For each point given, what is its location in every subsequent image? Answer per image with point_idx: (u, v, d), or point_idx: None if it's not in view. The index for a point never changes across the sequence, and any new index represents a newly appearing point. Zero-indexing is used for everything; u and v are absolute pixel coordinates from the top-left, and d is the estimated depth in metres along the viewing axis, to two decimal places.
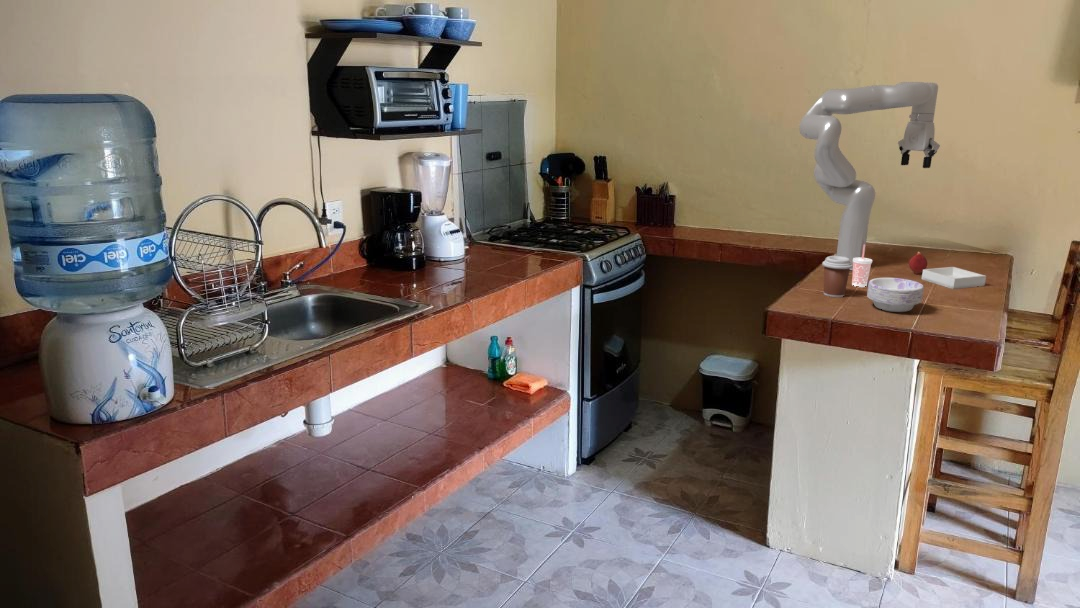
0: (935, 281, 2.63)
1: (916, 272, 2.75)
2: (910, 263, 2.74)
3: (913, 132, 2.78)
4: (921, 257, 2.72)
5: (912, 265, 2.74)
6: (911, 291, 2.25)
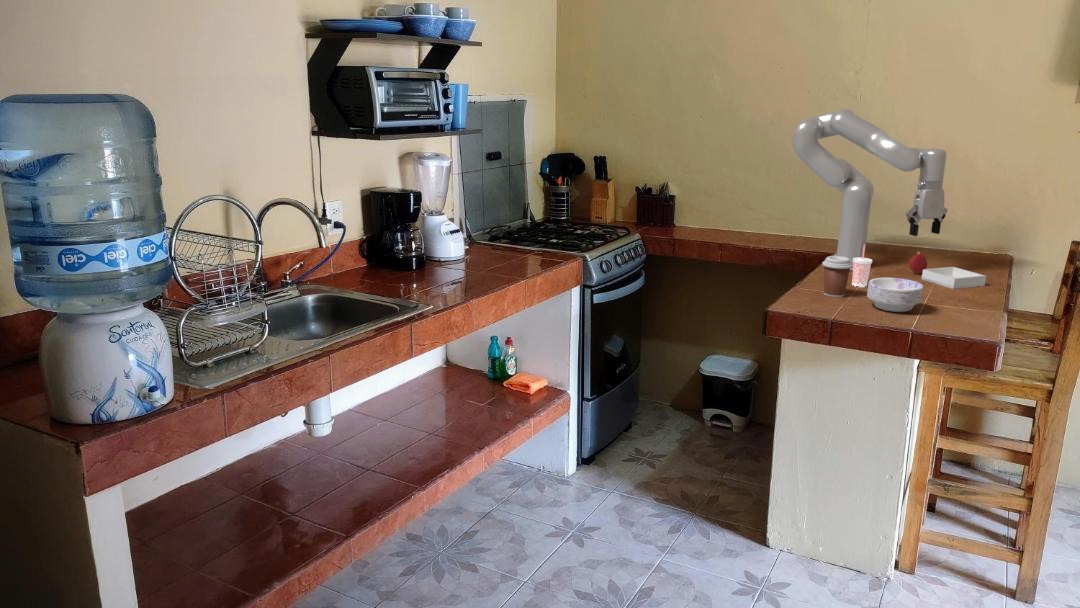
0: (935, 281, 2.63)
1: (916, 272, 2.75)
2: (910, 263, 2.74)
3: (934, 200, 2.66)
4: (921, 257, 2.72)
5: (912, 265, 2.74)
6: (911, 291, 2.25)
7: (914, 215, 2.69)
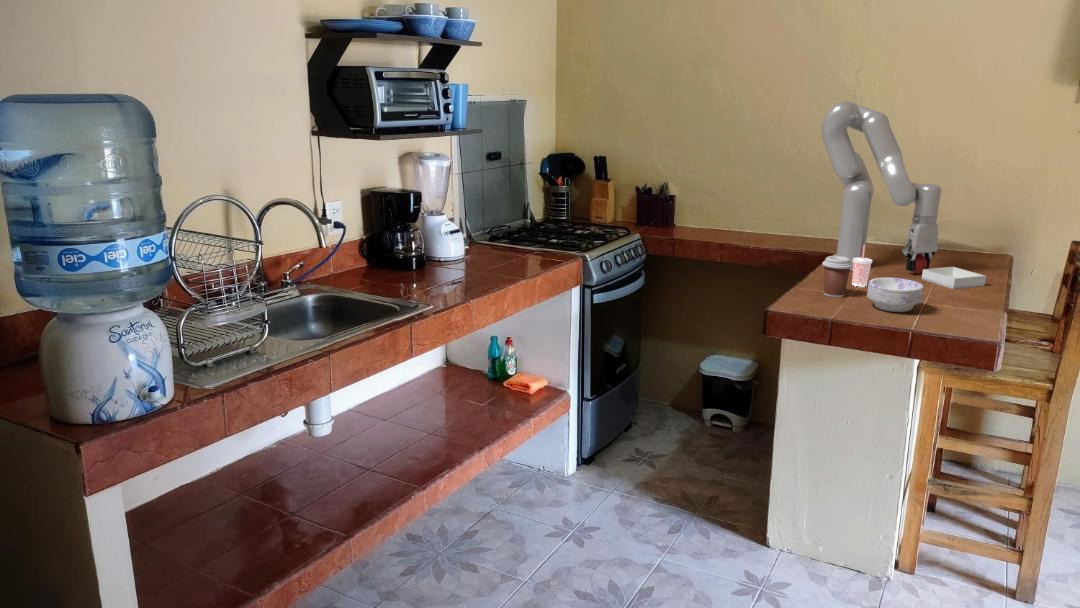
0: (935, 281, 2.63)
1: (916, 272, 2.75)
2: None
3: (928, 235, 2.69)
4: (921, 257, 2.72)
5: None
6: (911, 291, 2.25)
7: None
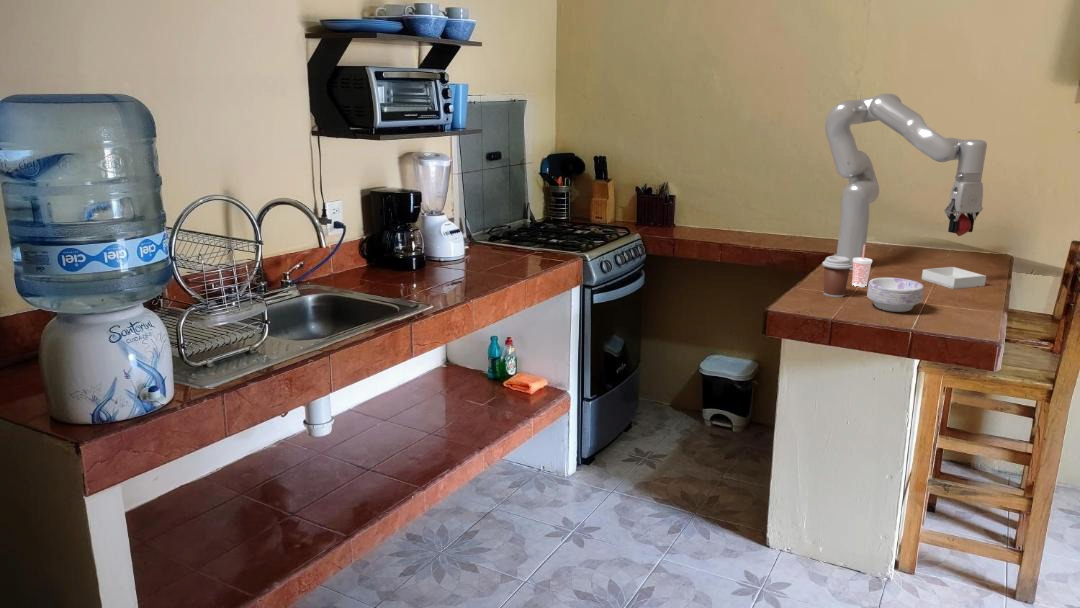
0: (935, 281, 2.63)
1: (959, 234, 2.59)
2: None
3: (972, 194, 2.53)
4: (965, 218, 2.57)
5: None
6: (911, 291, 2.25)
7: None
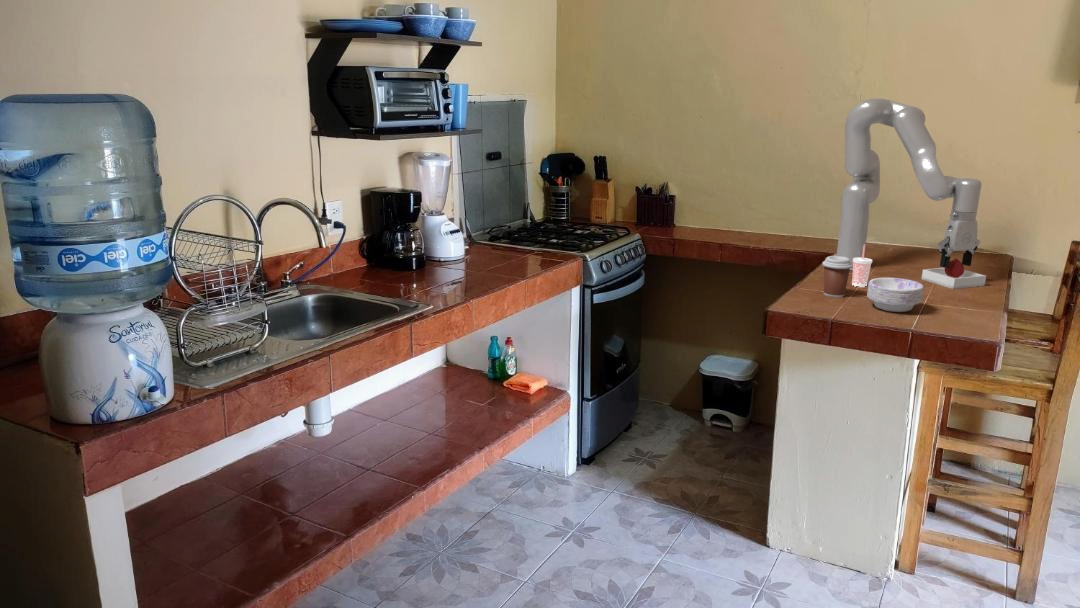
0: (935, 281, 2.63)
1: None
2: (946, 269, 2.63)
3: (967, 232, 2.57)
4: (958, 263, 2.60)
5: (948, 271, 2.62)
6: (911, 291, 2.25)
7: (945, 246, 2.60)
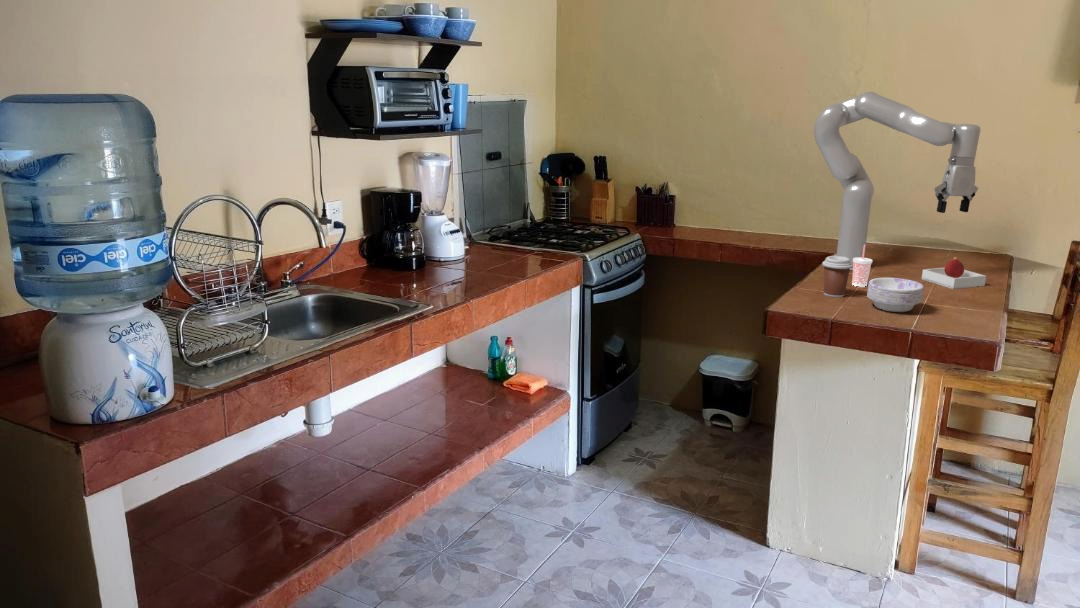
0: (935, 281, 2.63)
1: None
2: (946, 269, 2.63)
3: (964, 177, 2.60)
4: (958, 263, 2.61)
5: (948, 271, 2.62)
6: (911, 291, 2.25)
7: (943, 191, 2.63)
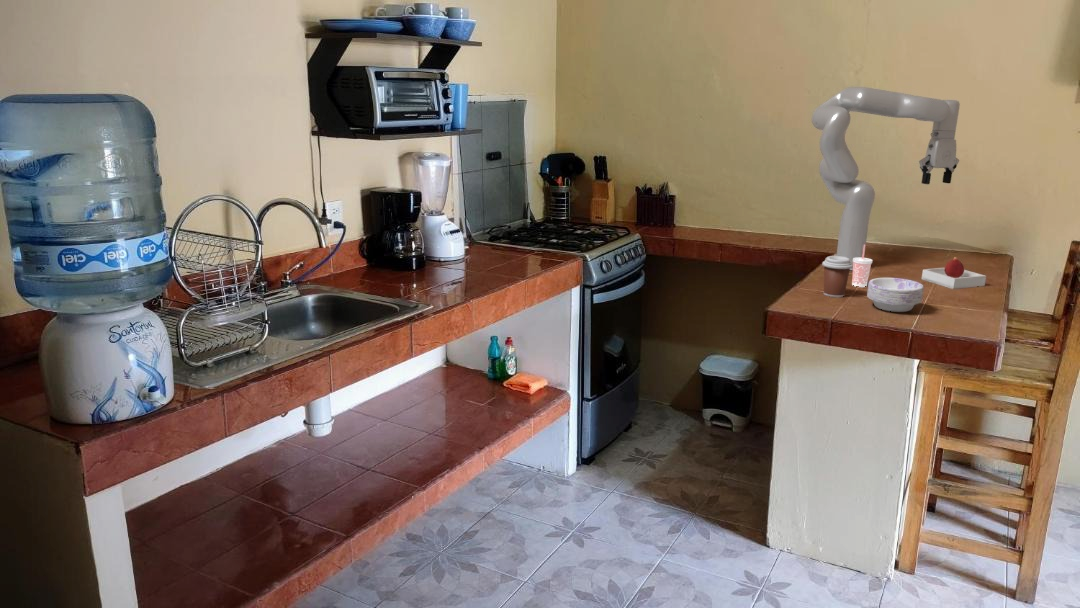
0: (935, 281, 2.63)
1: None
2: (946, 269, 2.63)
3: (946, 150, 2.76)
4: (958, 263, 2.61)
5: (948, 271, 2.62)
6: (911, 291, 2.25)
7: (927, 164, 2.79)
